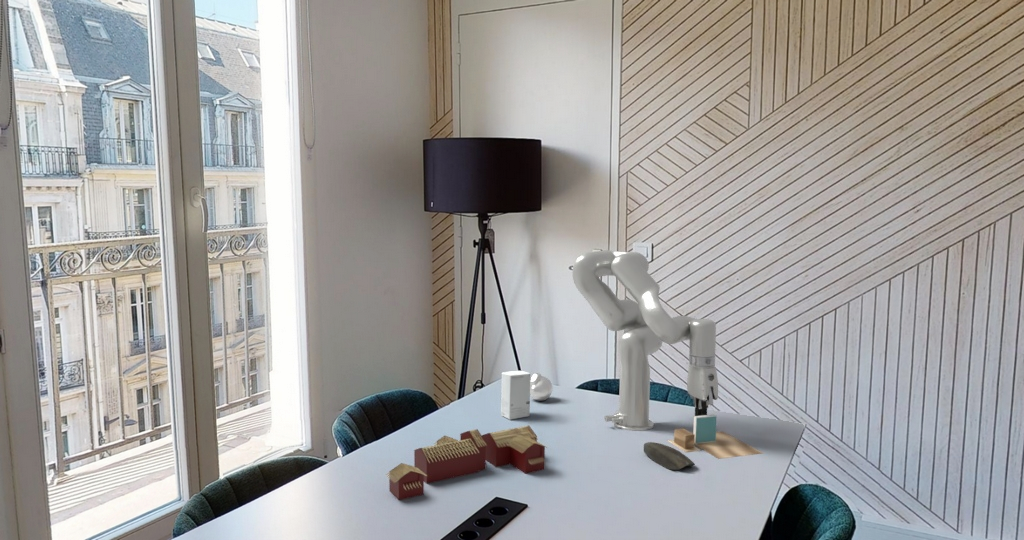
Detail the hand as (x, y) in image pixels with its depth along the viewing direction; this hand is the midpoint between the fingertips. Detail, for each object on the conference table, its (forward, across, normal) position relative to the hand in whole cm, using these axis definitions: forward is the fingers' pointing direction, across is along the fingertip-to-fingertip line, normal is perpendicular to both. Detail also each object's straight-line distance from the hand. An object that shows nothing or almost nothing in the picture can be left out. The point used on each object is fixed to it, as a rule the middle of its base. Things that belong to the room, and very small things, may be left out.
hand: (700, 420), depth 214 cm
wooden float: (+7, -3, +8) cm, 11 cm away
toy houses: (+6, -3, +74) cm, 75 cm away
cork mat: (+6, -6, -3) cm, 9 cm away
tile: (+6, -3, 0) cm, 6 cm away
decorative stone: (+7, -12, +19) cm, 24 cm away
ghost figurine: (+6, +55, +31) cm, 63 cm away
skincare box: (+6, +40, +45) cm, 61 cm away
